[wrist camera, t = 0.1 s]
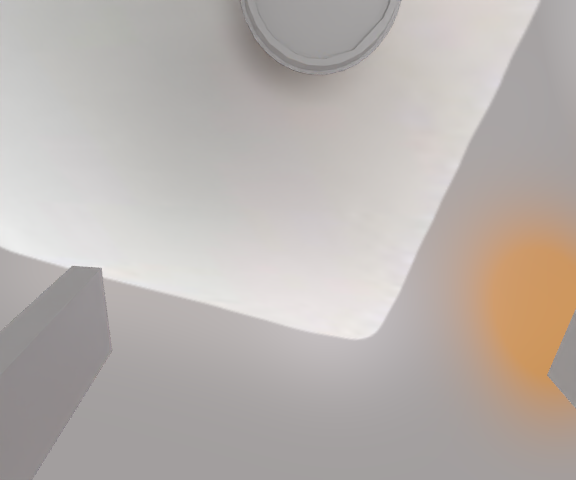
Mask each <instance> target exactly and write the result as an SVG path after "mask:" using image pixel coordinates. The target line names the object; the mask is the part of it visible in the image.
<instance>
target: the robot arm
mask: <svg viewBox="0 0 576 480" xmlns="http://www.w3.org/2000/svg"><path fill="white" fill-rule="evenodd" d="M111 352H112V346H111V338H110V331H109V323H108V316H107V308H106V300H105V292H104V285H103V277H102V269H101V268H95V267H79V266H72V267H71V268H69V269H68V270H67V271H66V272H65V273H64V274H63V275H62V276H61V277H60V278H58V279H57V280H56V281H55V282H54V283H53V284H52V285H51V286H50V287H49V288H47V289H46V290H45V291H44V292H43V293H42V294H41V295H40V296H39V297H38V298H36V299H35V300H34V301H33V302H32V303H31V304H30V305H29V306H28V307H27V308H25V309H24V310H23V311H22V312H21V313H20V314H19V315H18V316H17V317H15V318H14V319H13V320H12V321H11V322H10V323H9V324H8V325H7V326H6V327H4V328H3V329H2V330H1V331H0V480H32V479H33V478H34V476H35V474H36V473H37V471H38V470H39V468H40V466H41V465H42V463H43V461H44V460H45V458H46V457H47V455H48V453H49V452H50V450H51V449H52V447H53V445H54V444H55V442H56V441H57V439H58V437H59V436H60V434H61V432H62V431H63V429H64V428H65V426H66V425H67V423H68V421H69V420H70V418H71V417H72V415H73V413H74V412H75V410H76V408H77V407H78V405H79V404H80V402H81V400H82V399H83V397H84V396H85V394H86V392H87V391H88V389H89V387H90V386H91V384H92V383H93V381H94V379H95V378H96V376H97V375H98V373H99V372H100V370H101V368H102V367H103V365H104V363H105V362H106V360H107V358H108V357H109V355H110V354H111ZM548 377H549V378H550V379H551V380H552V381H553V382H554V384H555V385H556V386H557V387H558V388H559V389H560V391H561V392H562V393H563V394H564V395H565V396H566V398H567V399H568V400H569V401H570V402H571V403H572V404H573V406H574V407H575V408H576V310H575V313H574V315H573V317H572V319H571V322H570V324H569V326H568V328H567V331H566V333H565V335H564V338H563V340H562V342H561V345H560V347H559V349H558V352H557V354H556V356H555V358H554V361H553V363H552V365H551V368H550V370H549V372H548Z"/></svg>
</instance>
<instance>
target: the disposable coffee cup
mask: <svg viewBox="0 0 576 480" xmlns="http://www.w3.org/2000/svg"><path fill="white" fill-rule="evenodd" d="M240 3H241V6H242V10H243V13H244V17H245V20H246V22H247V24H248V26H249V28H250V30H251V32H252V34H253V36H254V38H255V39H256V41H257V42H258V43H259V44H260V45H261V47H262V48H263V49H264V50H265V51H266V53H268V54H269V55H270V56H271V57H272V58H273V59H275V60H276V61H277V62H278V63H280V64H282V65H284V66H286V67H288V68H290V69H292V70H294V71H298V72H302V73H306V74H310V75H315V74H331V73H336V72H340V71H343V70H345V69H348V68H350V67H352V66H354V65H356V64H358V63H359V62H360V61H362V60H363V59H365V58H366V57H368V56H369V55H370V54H371V53H372V52H373V51H374V50H375V49H376V48H377V47H378V46H379V44H380V43H381V42H382V40H383V39H384V38H385V36H386V35H387V34H388V32H389V30H390V28H391V26H392V25H393V23H394V20H395V18H396V15H397V13H398V10H399V6H400V3H401V0H240Z"/></svg>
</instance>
